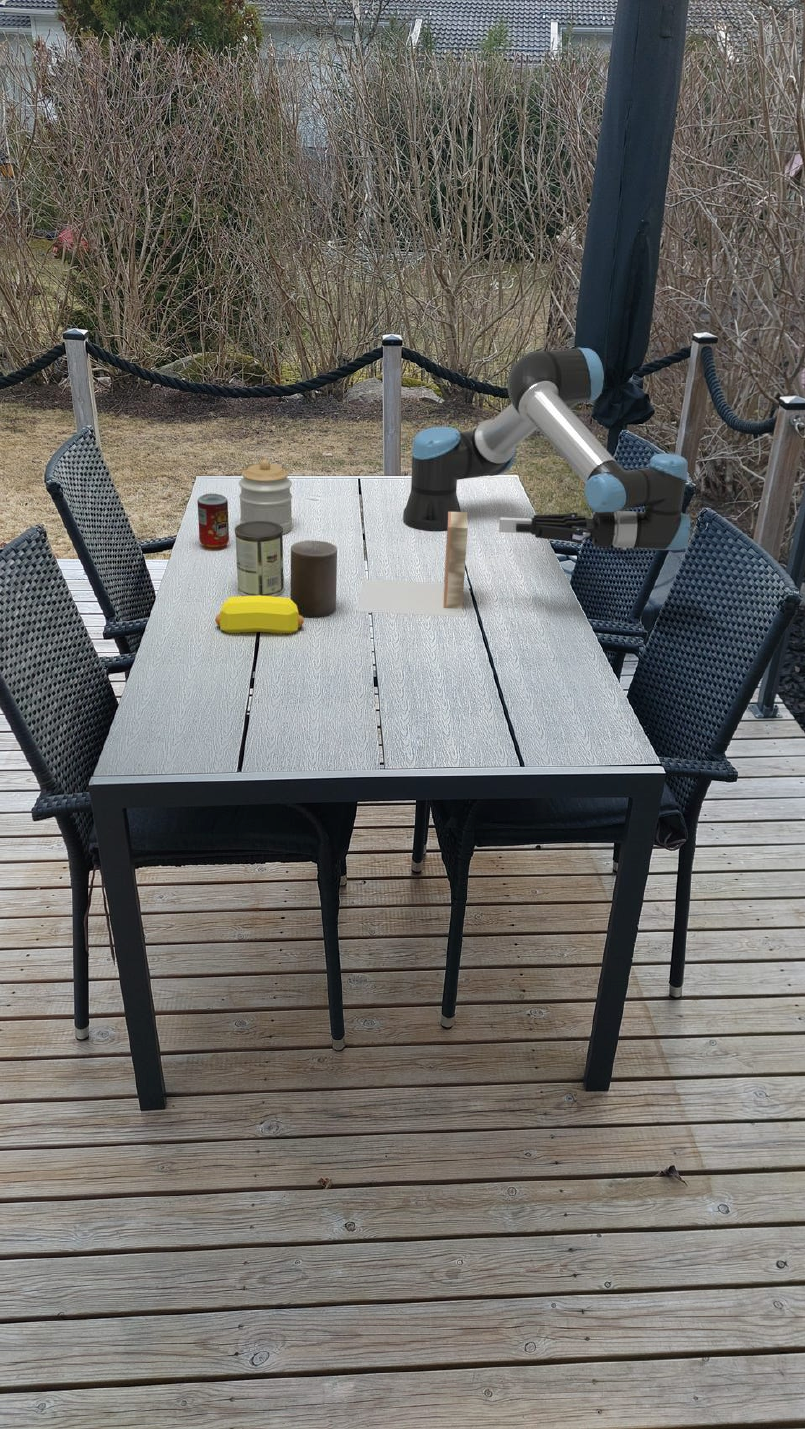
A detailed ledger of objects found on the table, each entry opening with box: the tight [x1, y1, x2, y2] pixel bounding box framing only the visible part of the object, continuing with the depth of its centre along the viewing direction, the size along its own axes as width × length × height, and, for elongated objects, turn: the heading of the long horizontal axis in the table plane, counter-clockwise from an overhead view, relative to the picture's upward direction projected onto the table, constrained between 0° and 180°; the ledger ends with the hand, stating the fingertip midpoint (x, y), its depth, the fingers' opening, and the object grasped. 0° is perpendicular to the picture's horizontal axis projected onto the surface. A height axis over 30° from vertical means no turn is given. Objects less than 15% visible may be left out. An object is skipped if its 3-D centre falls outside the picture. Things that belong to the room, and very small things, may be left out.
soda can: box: [196, 493, 230, 551], centre depth 263 cm, size 7×7×12 cm
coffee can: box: [234, 521, 285, 597], centre depth 240 cm, size 10×10×14 cm
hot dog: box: [214, 595, 305, 635], centre depth 224 cm, size 18×7×8 cm
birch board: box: [443, 511, 469, 610], centre depth 236 cm, size 4×10×18 cm, turn 178°
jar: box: [238, 458, 293, 535], centre depth 274 cm, size 13×13×18 cm
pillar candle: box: [289, 539, 338, 619], centre depth 232 cm, size 10×10×15 cm
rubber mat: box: [357, 579, 463, 618], centre depth 241 cm, size 22×18×1 cm
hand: (499, 524), depth 231 cm, fingers closed
